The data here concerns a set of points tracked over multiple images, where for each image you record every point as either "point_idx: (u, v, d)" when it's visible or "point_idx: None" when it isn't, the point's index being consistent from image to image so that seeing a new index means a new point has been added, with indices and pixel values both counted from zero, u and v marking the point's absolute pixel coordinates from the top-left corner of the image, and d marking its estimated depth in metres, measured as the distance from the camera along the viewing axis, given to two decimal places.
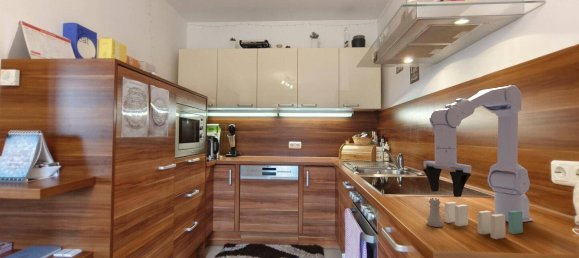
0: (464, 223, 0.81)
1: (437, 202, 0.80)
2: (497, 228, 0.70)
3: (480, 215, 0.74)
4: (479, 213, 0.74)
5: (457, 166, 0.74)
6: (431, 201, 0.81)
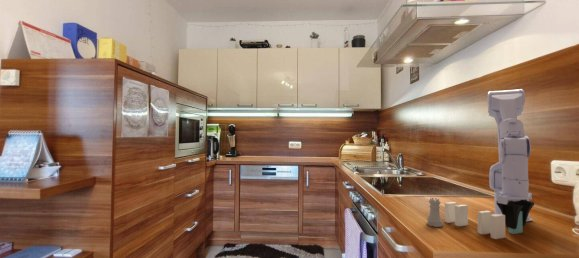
0: (464, 223, 0.81)
1: (437, 202, 0.80)
2: (497, 228, 0.70)
3: (480, 215, 0.74)
4: (479, 213, 0.74)
5: None
6: (431, 201, 0.81)
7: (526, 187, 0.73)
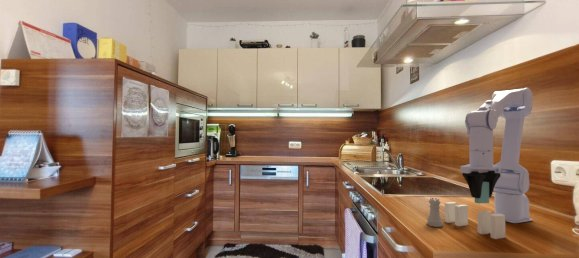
0: (464, 223, 0.81)
1: (437, 202, 0.80)
2: (497, 228, 0.70)
3: (480, 215, 0.74)
4: (479, 213, 0.74)
5: None
6: (431, 201, 0.81)
7: (490, 158, 0.75)
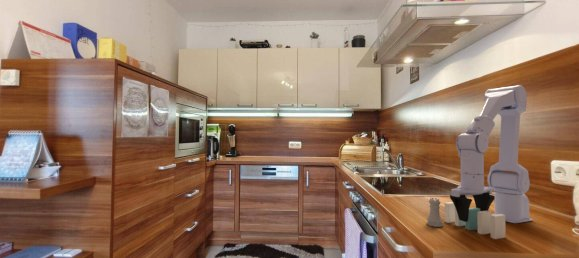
0: (464, 223, 0.81)
1: (437, 202, 0.80)
2: (497, 228, 0.70)
3: (480, 215, 0.74)
4: (479, 213, 0.74)
5: None
6: (431, 201, 0.81)
7: (480, 181, 0.76)
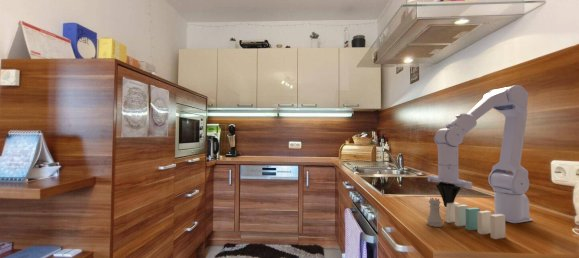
0: (464, 223, 0.81)
1: (437, 202, 0.80)
2: (497, 228, 0.70)
3: (480, 215, 0.74)
4: (479, 213, 0.74)
5: (459, 182, 0.81)
6: (431, 201, 0.81)
7: None
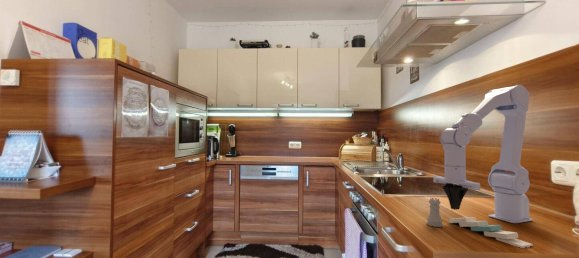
0: None
1: (437, 202, 0.80)
2: None
3: (503, 237, 0.68)
4: (505, 236, 0.67)
5: (466, 184, 0.78)
6: (431, 201, 0.81)
7: None
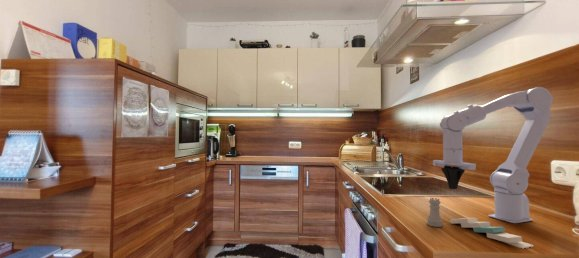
0: None
1: (437, 202, 0.80)
2: None
3: (505, 240, 0.66)
4: (507, 239, 0.66)
5: (463, 164, 0.86)
6: (431, 201, 0.81)
7: None
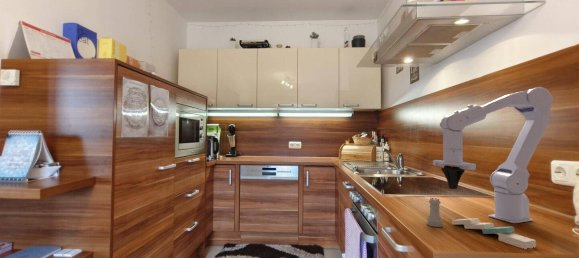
0: None
1: (437, 202, 0.80)
2: None
3: (521, 244, 0.65)
4: (523, 243, 0.64)
5: (463, 164, 0.86)
6: (431, 201, 0.81)
7: None
